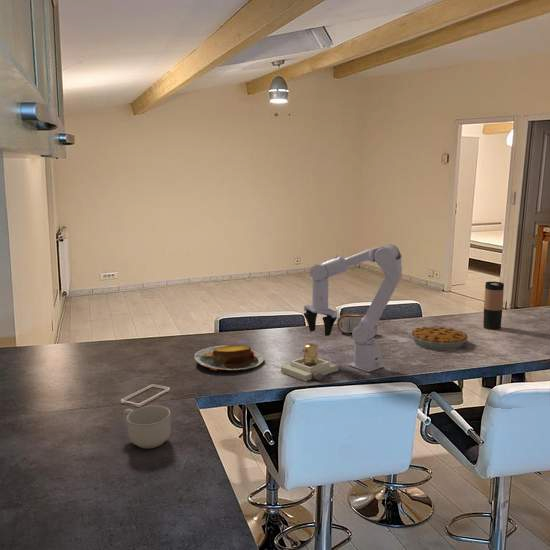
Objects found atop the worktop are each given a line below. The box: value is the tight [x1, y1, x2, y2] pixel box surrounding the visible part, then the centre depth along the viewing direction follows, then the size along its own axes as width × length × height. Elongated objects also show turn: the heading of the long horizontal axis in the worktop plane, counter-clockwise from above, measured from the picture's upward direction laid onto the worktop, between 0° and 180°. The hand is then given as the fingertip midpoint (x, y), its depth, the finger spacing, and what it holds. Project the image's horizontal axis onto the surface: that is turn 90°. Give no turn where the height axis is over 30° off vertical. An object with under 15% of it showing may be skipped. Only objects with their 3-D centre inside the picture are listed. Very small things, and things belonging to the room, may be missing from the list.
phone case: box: [120, 383, 171, 408], centre depth 176 cm, size 7×1×15 cm
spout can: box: [302, 342, 319, 367], centre depth 196 cm, size 5×6×7 cm
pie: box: [410, 326, 468, 351], centre depth 229 cm, size 22×22×5 cm
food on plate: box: [194, 345, 265, 371], centre depth 207 cm, size 25×25×7 cm
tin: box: [336, 313, 366, 334], centre depth 243 cm, size 15×3×8 cm, turn 84°
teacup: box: [122, 404, 172, 449], centre depth 145 cm, size 14×11×8 cm
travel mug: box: [482, 281, 505, 331], centre depth 250 cm, size 8×8×20 cm
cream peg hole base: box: [280, 357, 340, 382], centre depth 196 cm, size 15×16×4 cm
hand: (319, 333), depth 208 cm, fingers open, 7 cm apart
